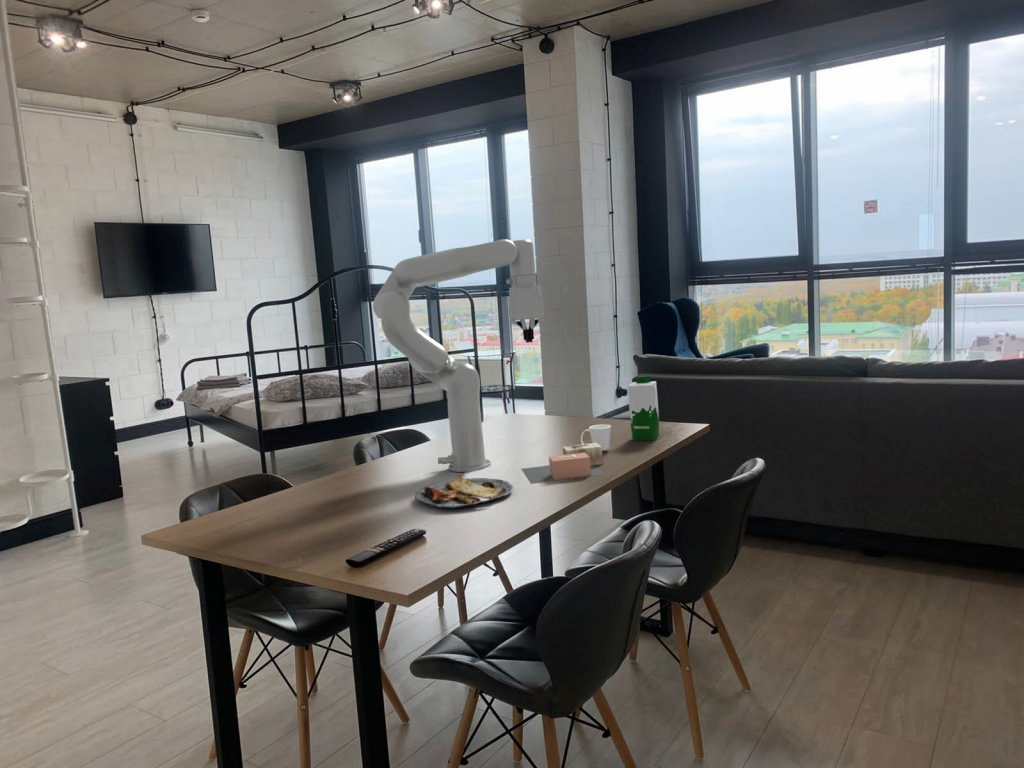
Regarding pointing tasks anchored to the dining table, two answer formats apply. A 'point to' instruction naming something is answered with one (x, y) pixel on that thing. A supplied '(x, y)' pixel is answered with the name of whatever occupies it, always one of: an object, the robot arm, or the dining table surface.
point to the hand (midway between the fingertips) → (529, 342)
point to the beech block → (590, 449)
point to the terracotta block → (570, 466)
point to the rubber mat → (544, 475)
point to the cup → (599, 435)
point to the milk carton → (643, 409)
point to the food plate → (463, 491)
